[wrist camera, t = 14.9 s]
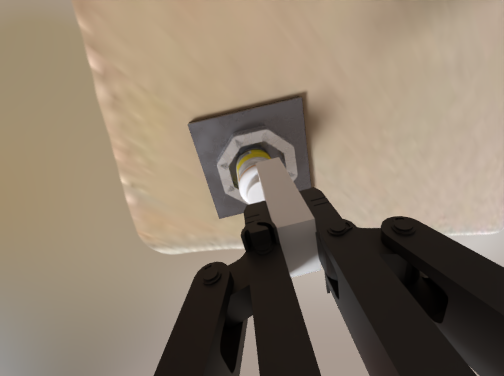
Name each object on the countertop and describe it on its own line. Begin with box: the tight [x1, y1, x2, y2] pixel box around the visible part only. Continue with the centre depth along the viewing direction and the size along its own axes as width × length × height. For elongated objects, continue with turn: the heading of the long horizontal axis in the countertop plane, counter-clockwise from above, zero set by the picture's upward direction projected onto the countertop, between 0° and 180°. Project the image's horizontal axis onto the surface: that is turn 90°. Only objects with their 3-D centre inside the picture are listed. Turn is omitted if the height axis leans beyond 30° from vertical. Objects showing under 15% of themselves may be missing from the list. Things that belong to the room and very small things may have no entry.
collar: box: [188, 97, 311, 219], centre depth 35 cm, size 16×16×4 cm
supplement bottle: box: [236, 148, 271, 204], centre depth 31 cm, size 6×6×10 cm
